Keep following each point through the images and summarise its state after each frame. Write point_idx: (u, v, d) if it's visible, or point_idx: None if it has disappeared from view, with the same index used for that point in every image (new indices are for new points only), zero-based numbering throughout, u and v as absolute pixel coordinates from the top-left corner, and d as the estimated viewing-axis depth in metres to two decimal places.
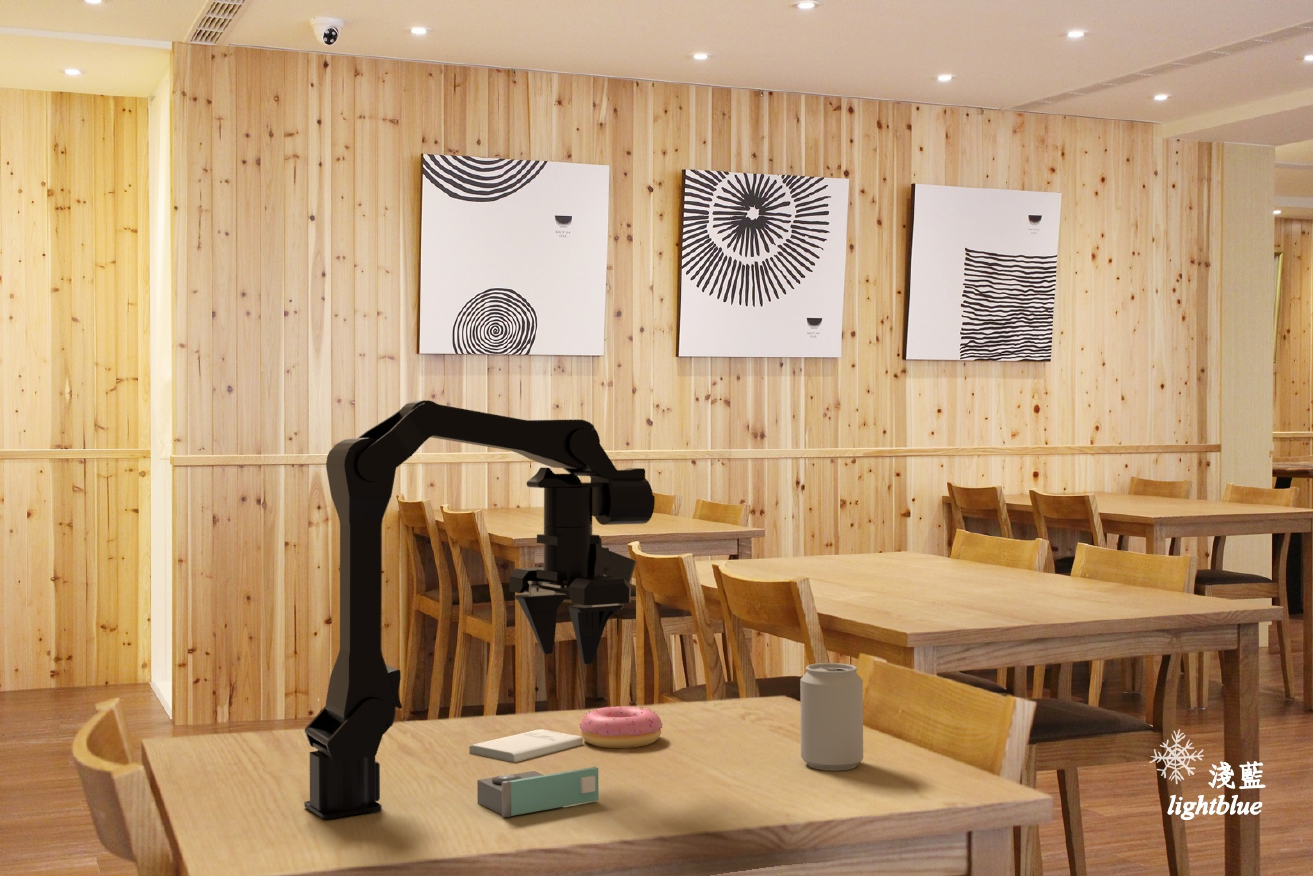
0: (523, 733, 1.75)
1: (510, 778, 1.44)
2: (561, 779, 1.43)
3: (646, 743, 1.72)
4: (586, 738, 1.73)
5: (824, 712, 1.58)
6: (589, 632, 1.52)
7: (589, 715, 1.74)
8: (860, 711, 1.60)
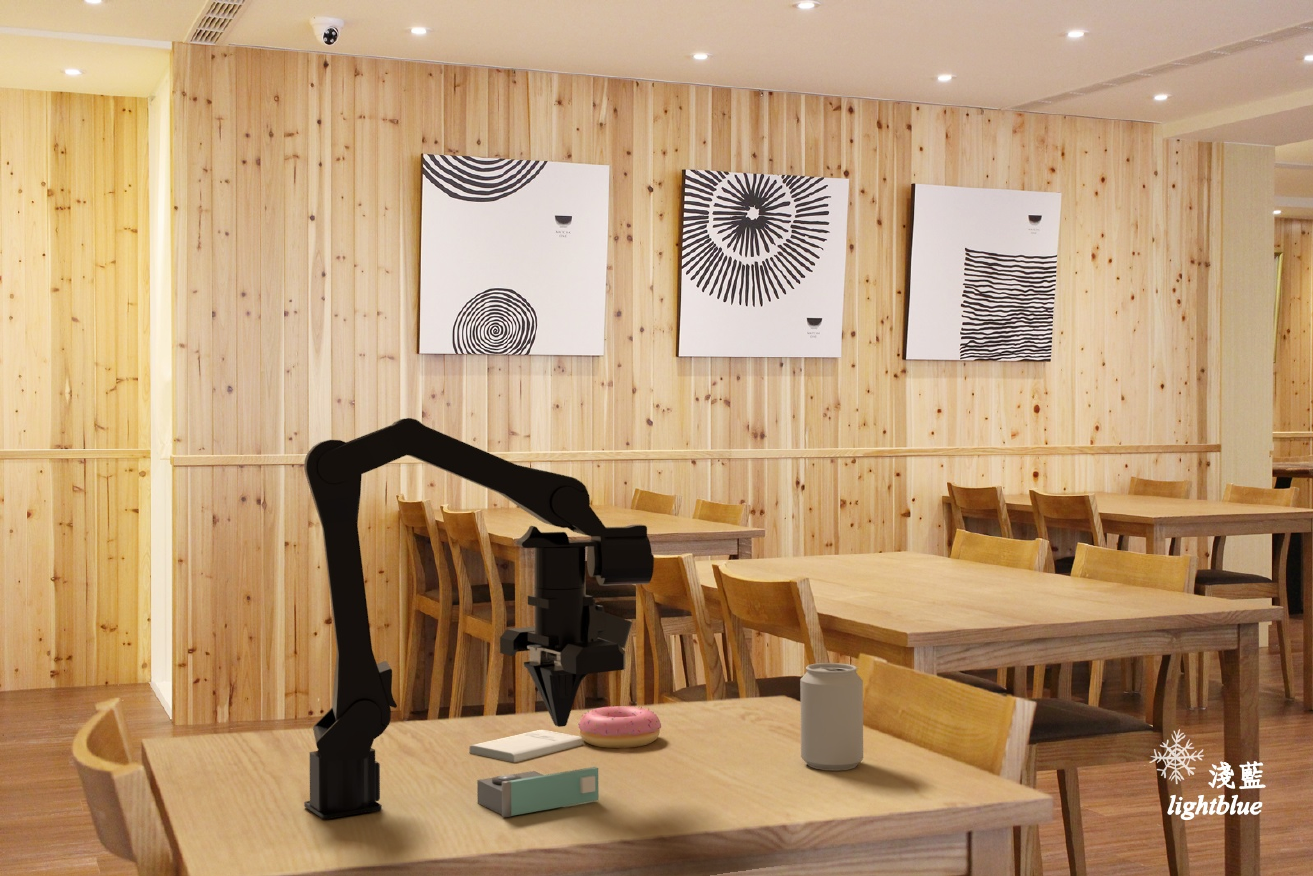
0: (523, 733, 1.75)
1: (510, 778, 1.44)
2: (561, 779, 1.43)
3: (645, 743, 1.72)
4: (585, 738, 1.73)
5: (824, 712, 1.58)
6: (562, 694, 1.49)
7: (588, 715, 1.74)
8: (860, 711, 1.60)
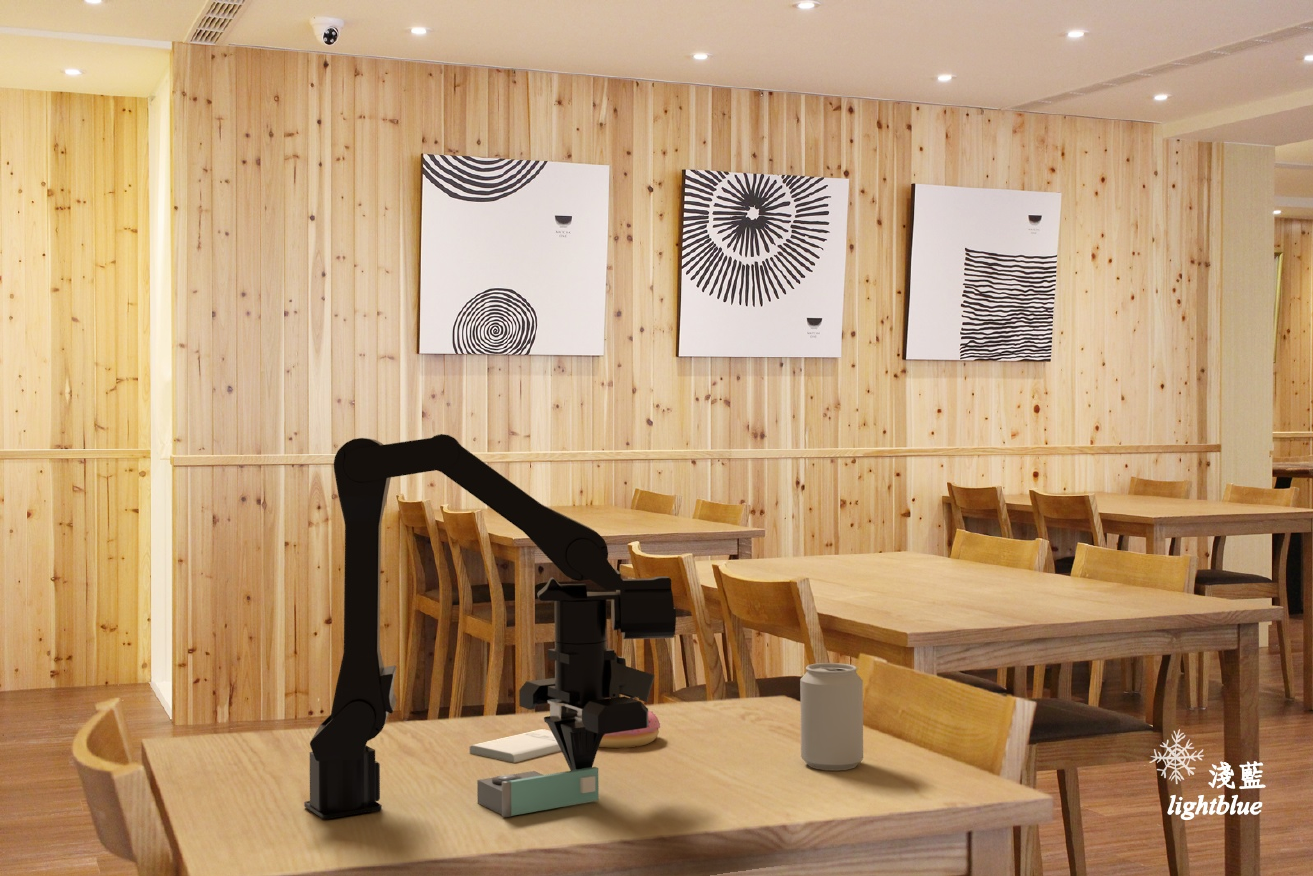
0: (524, 733, 1.75)
1: (510, 778, 1.44)
2: (561, 779, 1.43)
3: (644, 743, 1.72)
4: None
5: (824, 712, 1.58)
6: (583, 750, 1.45)
7: None
8: (860, 711, 1.60)
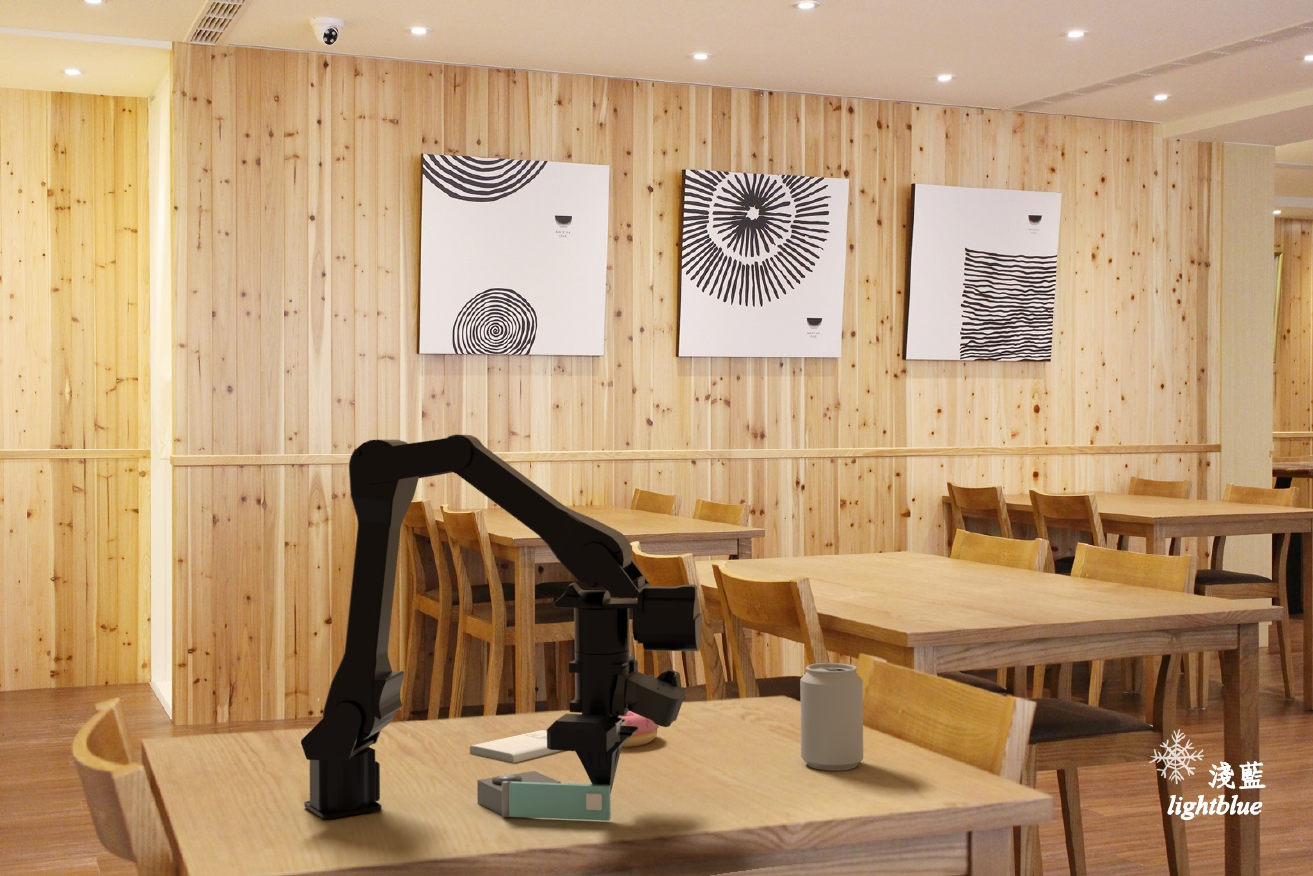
0: (525, 734, 1.75)
1: (510, 778, 1.44)
2: (565, 790, 1.38)
3: (642, 743, 1.72)
4: None
5: (824, 712, 1.58)
6: (595, 765, 1.38)
7: None
8: (860, 711, 1.60)
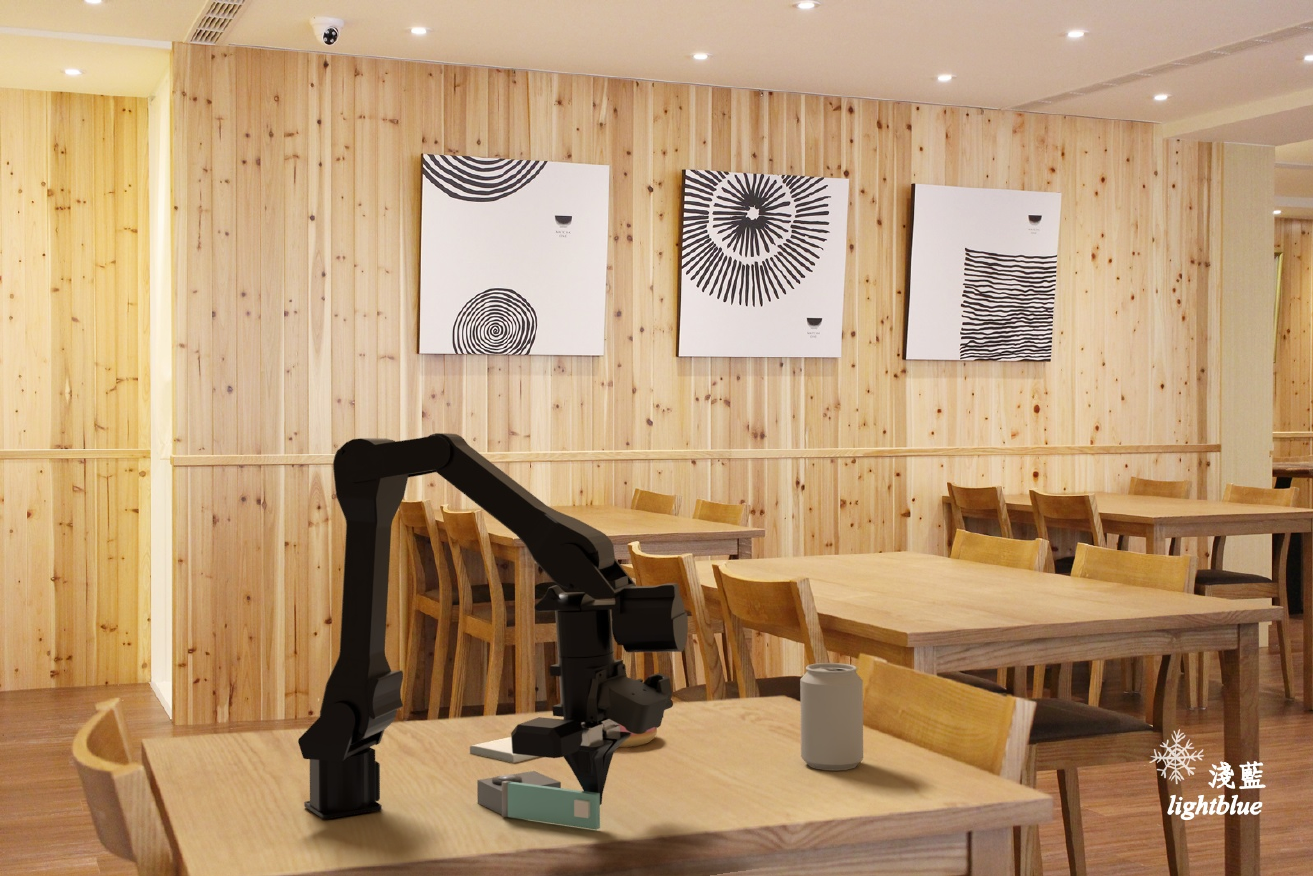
0: None
1: (510, 778, 1.44)
2: (557, 795, 1.36)
3: (642, 743, 1.72)
4: None
5: (824, 712, 1.58)
6: (583, 770, 1.35)
7: None
8: (860, 711, 1.60)
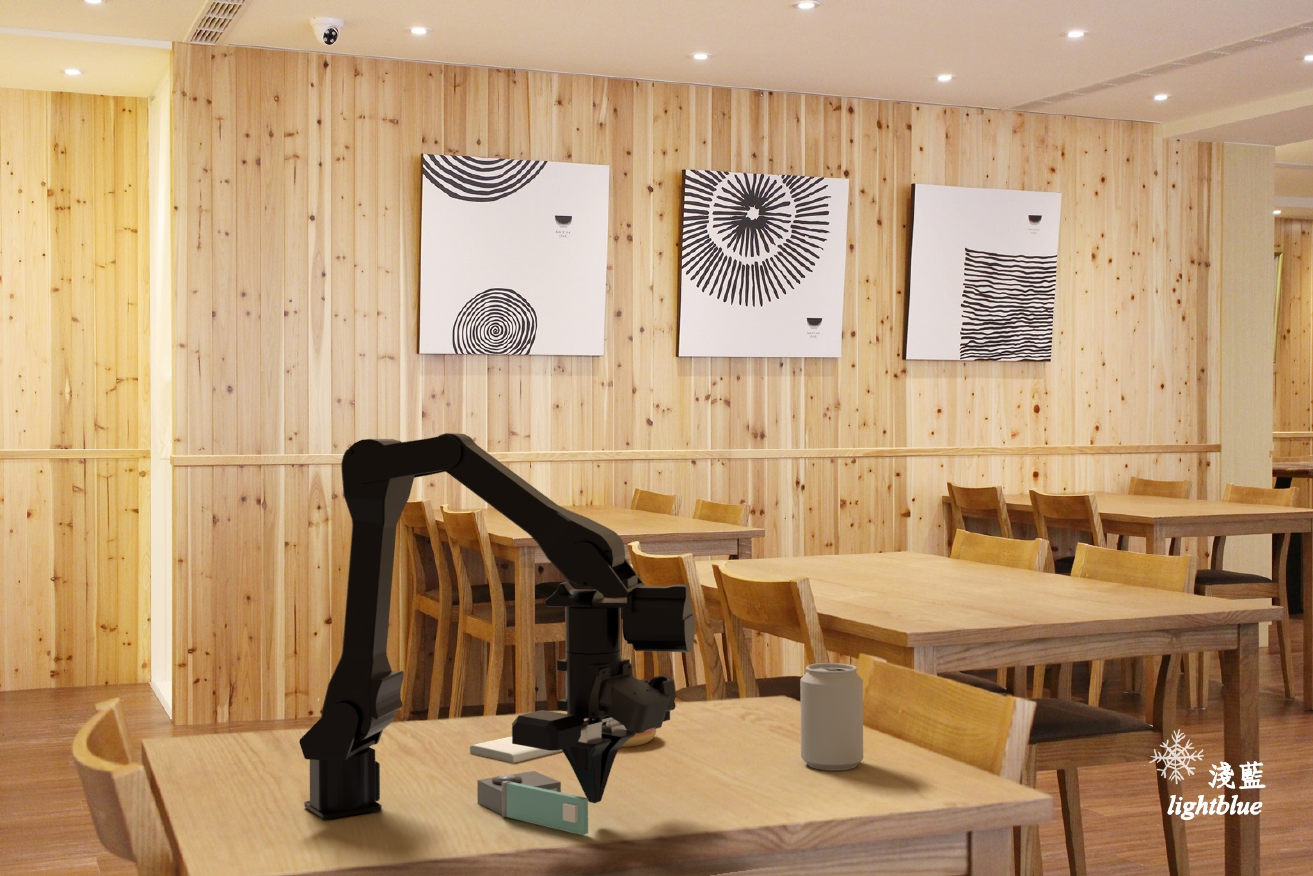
0: None
1: (510, 778, 1.44)
2: (549, 798, 1.35)
3: (641, 742, 1.73)
4: None
5: (824, 712, 1.58)
6: (581, 766, 1.36)
7: None
8: (860, 711, 1.60)
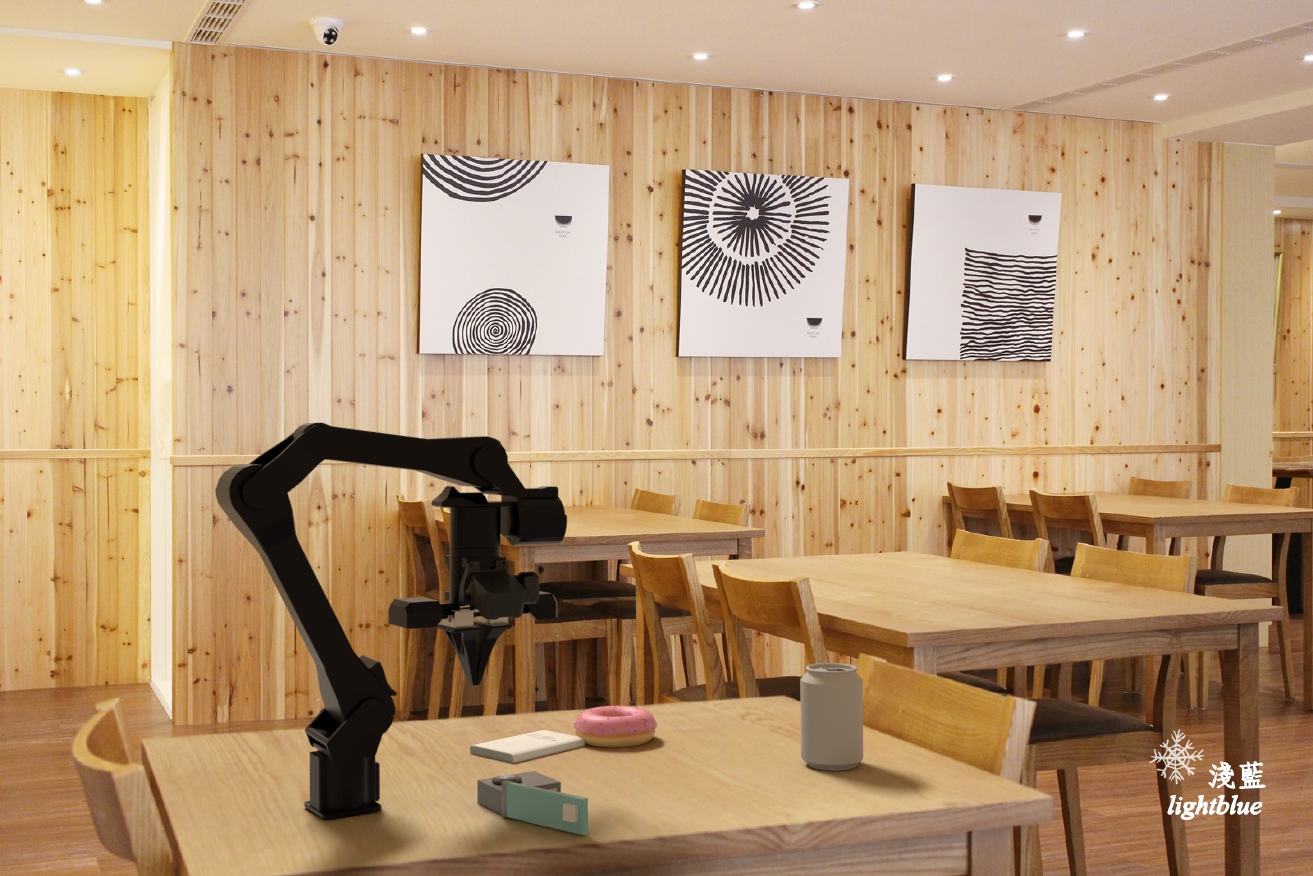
0: (526, 734, 1.75)
1: (510, 778, 1.44)
2: (549, 798, 1.35)
3: (640, 742, 1.73)
4: None
5: (824, 712, 1.58)
6: (461, 651, 1.50)
7: (583, 714, 1.75)
8: (860, 711, 1.60)
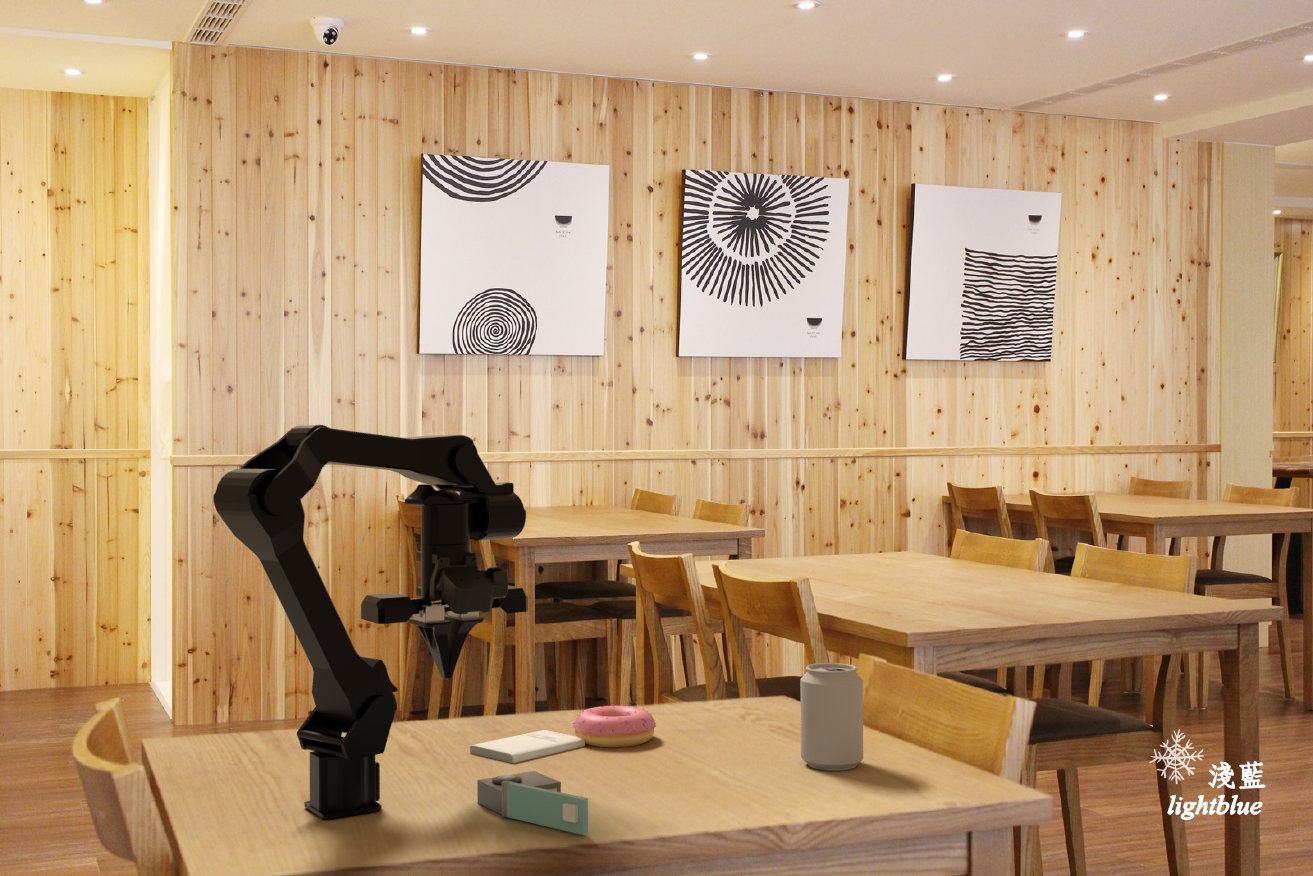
0: (526, 734, 1.75)
1: (510, 778, 1.44)
2: (549, 798, 1.35)
3: (639, 742, 1.73)
4: None
5: (824, 712, 1.58)
6: (433, 645, 1.54)
7: (582, 714, 1.75)
8: (860, 711, 1.60)
